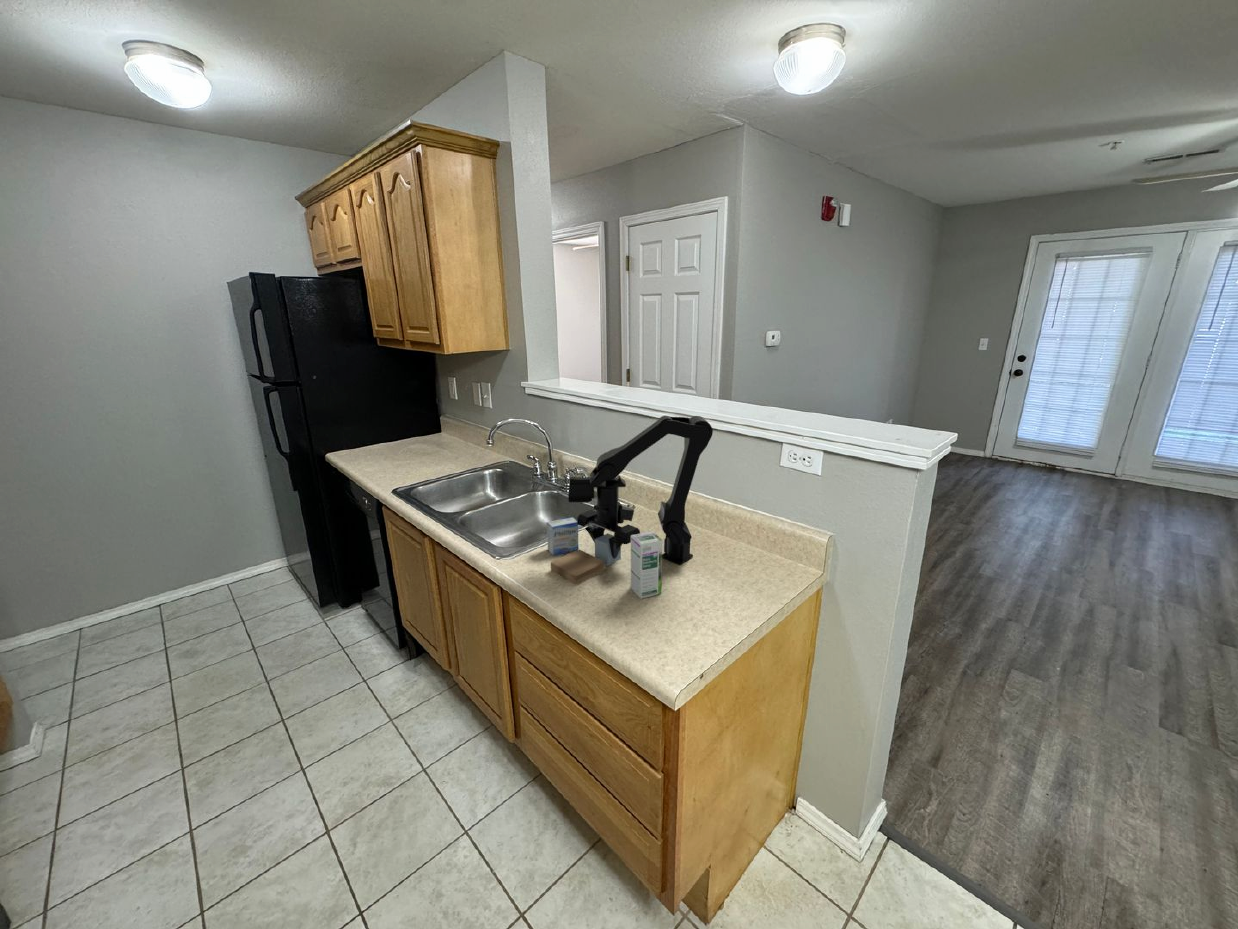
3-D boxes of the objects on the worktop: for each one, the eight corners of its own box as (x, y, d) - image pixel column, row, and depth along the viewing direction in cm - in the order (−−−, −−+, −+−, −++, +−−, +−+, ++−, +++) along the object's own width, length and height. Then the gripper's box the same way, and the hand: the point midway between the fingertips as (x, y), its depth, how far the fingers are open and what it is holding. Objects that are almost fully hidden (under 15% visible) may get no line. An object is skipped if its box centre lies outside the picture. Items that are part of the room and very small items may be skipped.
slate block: (620, 558, 138) (620, 538, 136) (607, 565, 134) (607, 544, 132) (607, 552, 141) (607, 533, 139) (595, 558, 137) (594, 539, 136)
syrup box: (640, 599, 119) (641, 544, 114) (629, 587, 124) (630, 533, 119) (661, 594, 121) (663, 539, 116) (650, 582, 126) (651, 529, 121)
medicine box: (552, 556, 139) (551, 527, 136) (547, 549, 143) (546, 521, 140) (579, 549, 143) (578, 521, 140) (573, 543, 146) (572, 516, 144)
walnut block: (605, 571, 132) (605, 561, 131) (576, 586, 125) (576, 576, 124) (579, 559, 138) (579, 549, 137) (551, 572, 131) (550, 562, 130)
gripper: (654, 502, 132) (653, 556, 137) (604, 485, 144) (604, 535, 149) (625, 514, 124) (625, 570, 129) (575, 495, 136) (576, 547, 141)
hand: (607, 554), depth 137 cm, fingers closed on slate block, 5 cm apart
